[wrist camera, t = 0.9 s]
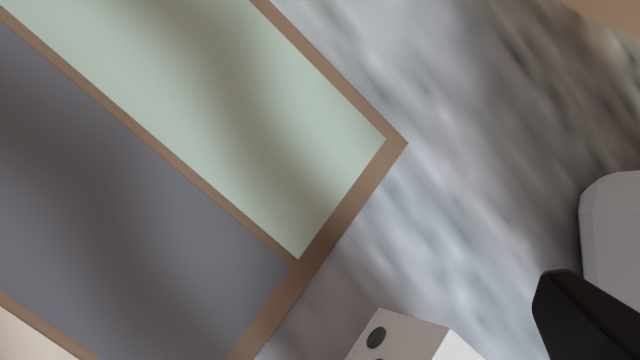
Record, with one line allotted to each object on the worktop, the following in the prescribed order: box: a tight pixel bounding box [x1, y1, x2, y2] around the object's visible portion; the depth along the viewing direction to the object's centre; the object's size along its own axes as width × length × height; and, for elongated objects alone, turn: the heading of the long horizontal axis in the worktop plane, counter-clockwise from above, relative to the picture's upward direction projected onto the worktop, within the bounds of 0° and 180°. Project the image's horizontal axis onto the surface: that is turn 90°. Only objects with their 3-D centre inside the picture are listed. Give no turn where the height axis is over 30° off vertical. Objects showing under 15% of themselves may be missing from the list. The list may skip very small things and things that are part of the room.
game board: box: [0, 0, 408, 360], centre depth 19 cm, size 22×16×1 cm
